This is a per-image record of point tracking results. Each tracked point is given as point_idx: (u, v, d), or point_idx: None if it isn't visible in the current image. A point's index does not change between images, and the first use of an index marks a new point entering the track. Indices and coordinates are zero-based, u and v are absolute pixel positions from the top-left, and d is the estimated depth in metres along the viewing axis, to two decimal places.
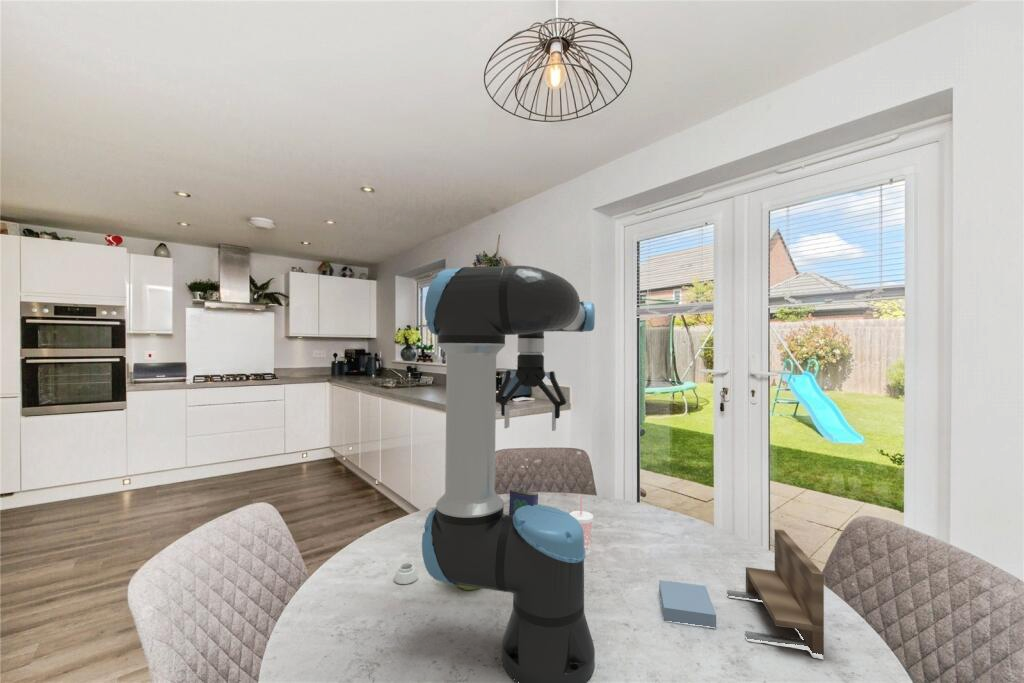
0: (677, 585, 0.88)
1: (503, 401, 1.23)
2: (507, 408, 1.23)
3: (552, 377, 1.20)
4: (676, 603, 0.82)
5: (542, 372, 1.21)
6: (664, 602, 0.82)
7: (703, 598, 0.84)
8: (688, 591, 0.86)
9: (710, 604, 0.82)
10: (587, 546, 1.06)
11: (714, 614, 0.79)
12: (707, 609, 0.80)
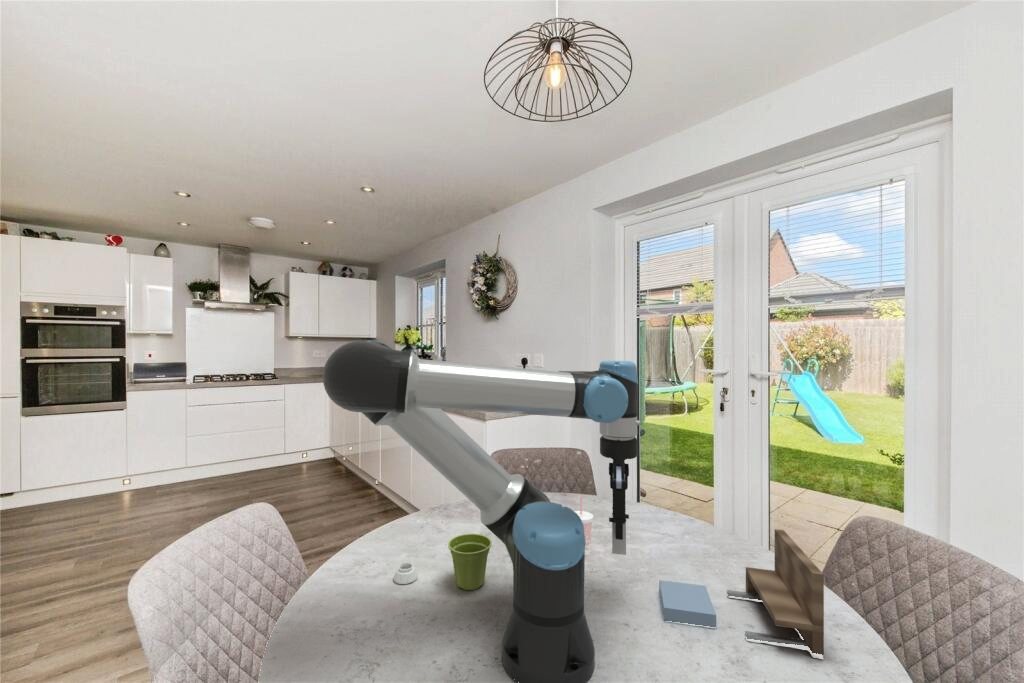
0: (677, 585, 0.88)
1: None
2: None
3: (612, 485, 0.83)
4: (676, 603, 0.82)
5: (613, 469, 0.84)
6: (664, 602, 0.82)
7: (703, 598, 0.84)
8: (688, 591, 0.86)
9: (710, 603, 0.82)
10: (587, 545, 1.06)
11: (714, 614, 0.79)
12: (707, 609, 0.80)
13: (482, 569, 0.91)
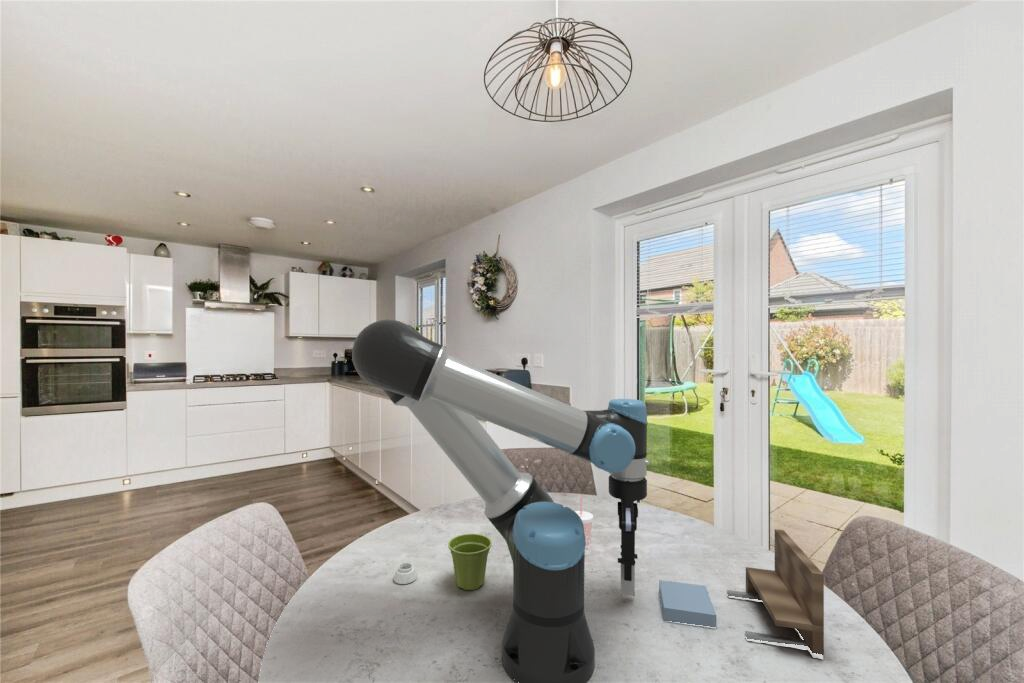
0: (677, 584, 0.88)
1: (621, 551, 0.89)
2: None
3: (621, 527, 0.83)
4: (676, 603, 0.82)
5: (622, 510, 0.84)
6: (664, 602, 0.82)
7: (703, 598, 0.84)
8: (688, 592, 0.86)
9: (710, 604, 0.82)
10: (587, 546, 1.06)
11: (714, 614, 0.79)
12: (707, 609, 0.80)
13: (482, 569, 0.91)
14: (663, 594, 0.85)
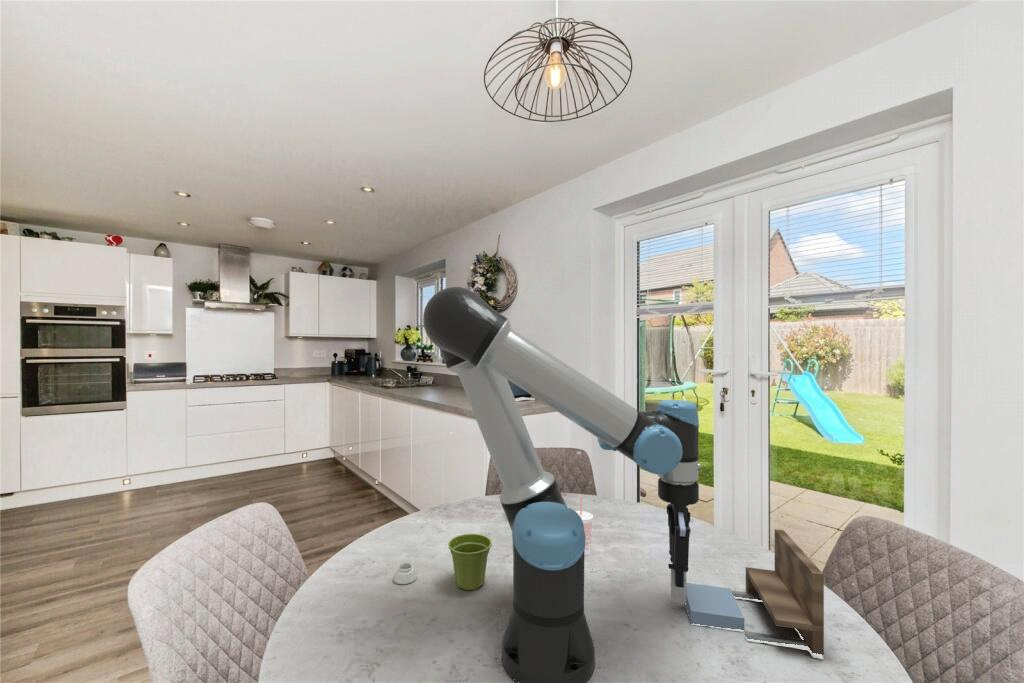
0: (701, 587, 0.87)
1: None
2: None
3: (675, 533, 0.80)
4: (702, 606, 0.81)
5: (675, 515, 0.82)
6: (690, 605, 0.81)
7: (729, 601, 0.83)
8: (713, 594, 0.85)
9: (737, 607, 0.81)
10: (587, 545, 1.06)
11: (742, 617, 0.78)
12: (735, 612, 0.79)
13: (482, 569, 0.91)
14: (688, 597, 0.84)
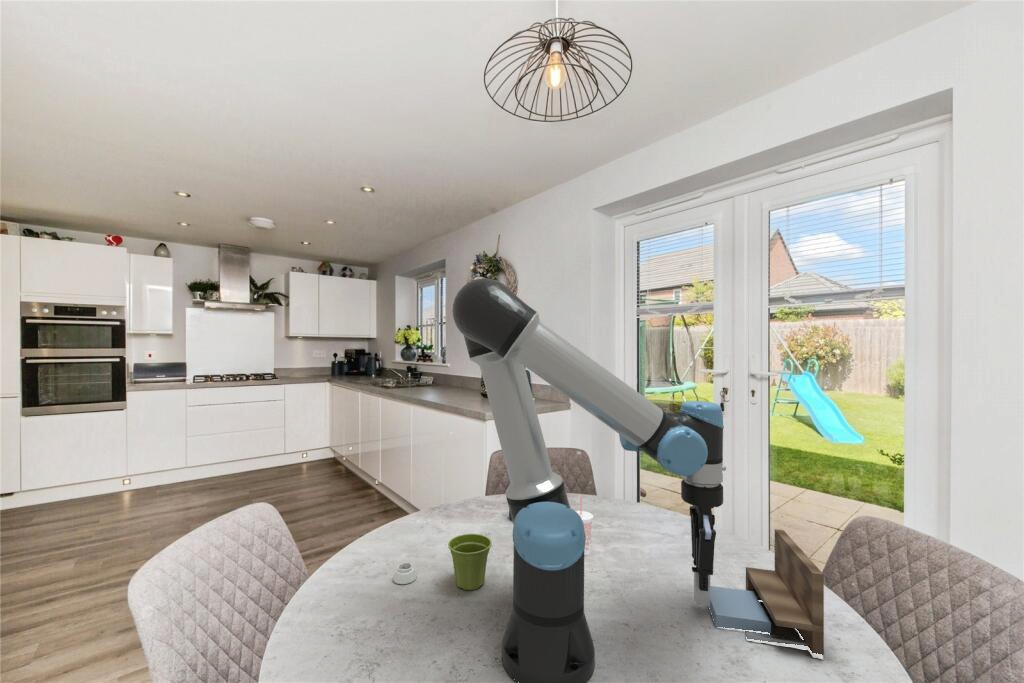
0: (724, 590, 0.87)
1: (694, 560, 0.85)
2: None
3: (700, 536, 0.79)
4: (727, 610, 0.80)
5: (700, 517, 0.80)
6: (715, 609, 0.80)
7: (753, 604, 0.82)
8: (737, 597, 0.84)
9: (762, 610, 0.80)
10: (587, 545, 1.06)
11: (769, 621, 0.77)
12: (760, 616, 0.78)
13: (482, 569, 0.91)
14: (712, 600, 0.83)
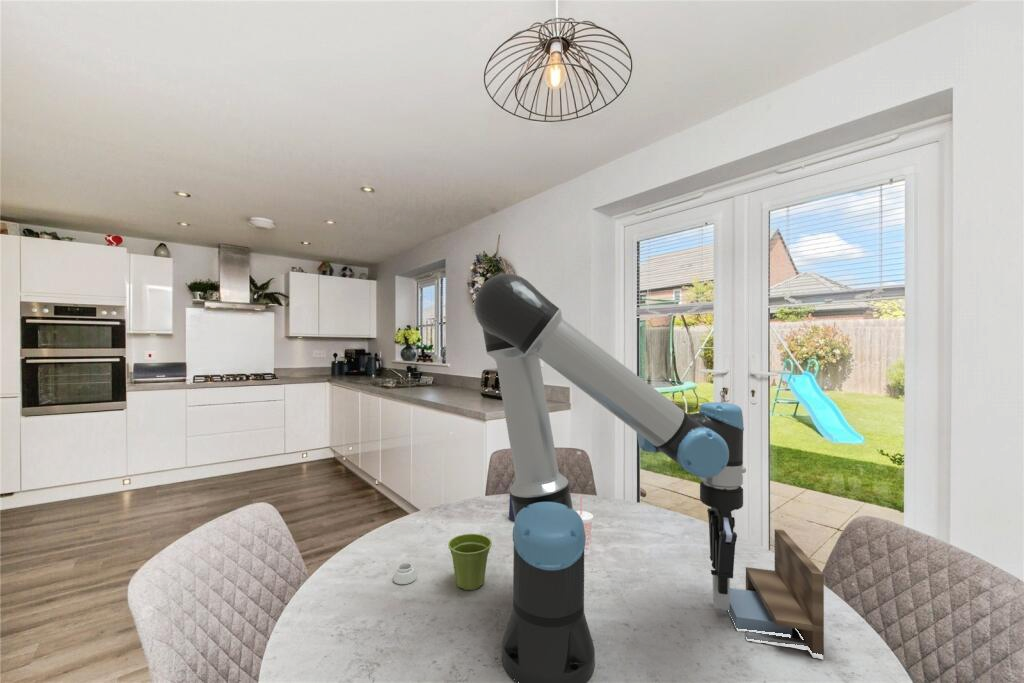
0: (742, 592, 0.86)
1: (712, 562, 0.85)
2: None
3: (720, 538, 0.78)
4: (747, 612, 0.79)
5: (720, 520, 0.80)
6: (735, 611, 0.80)
7: None
8: (756, 599, 0.83)
9: None
10: (587, 545, 1.06)
11: None
12: None
13: (482, 569, 0.91)
14: (731, 602, 0.82)
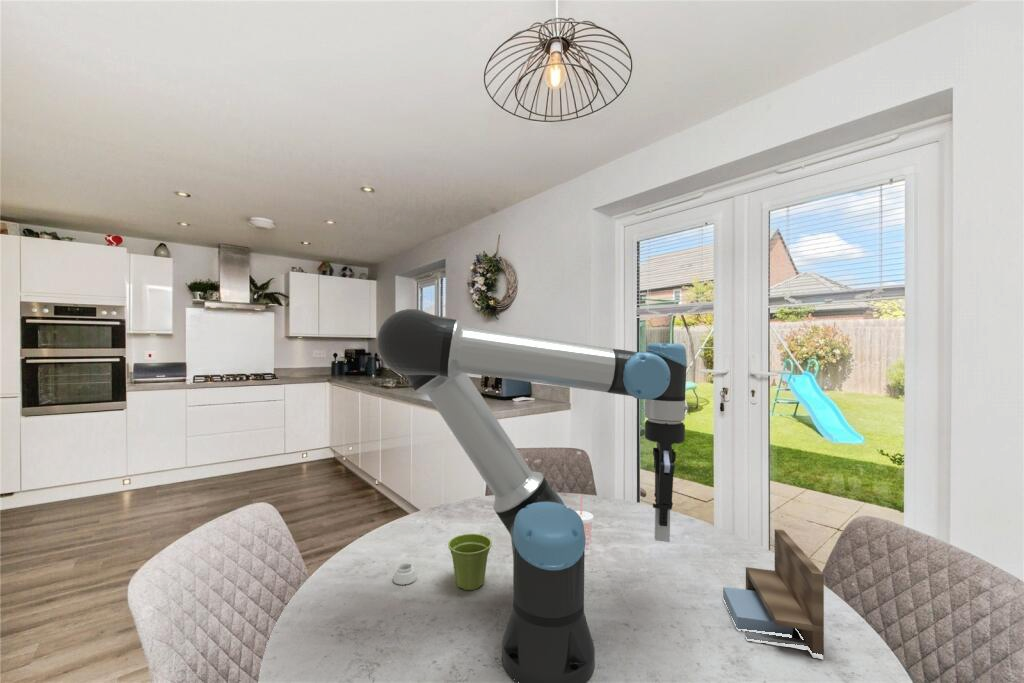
0: (743, 592, 0.86)
1: None
2: None
3: (659, 469, 0.81)
4: (748, 612, 0.79)
5: (660, 453, 0.82)
6: (736, 611, 0.80)
7: None
8: (756, 599, 0.83)
9: None
10: (587, 545, 1.06)
11: None
12: None
13: (482, 569, 0.91)
14: (732, 602, 0.82)
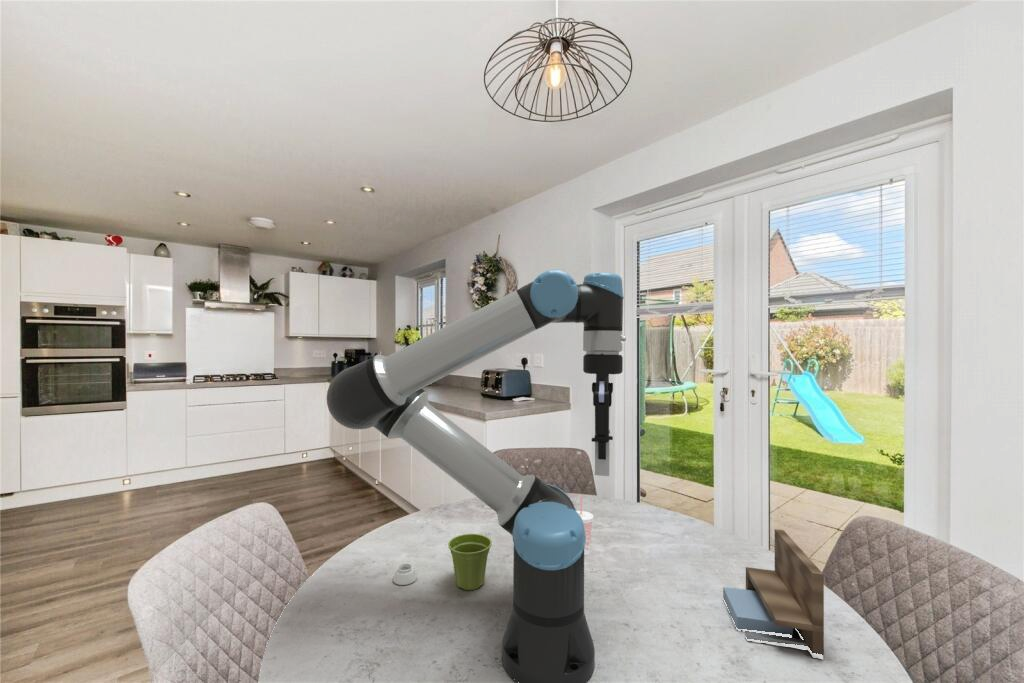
0: (743, 592, 0.86)
1: None
2: None
3: (594, 399, 0.79)
4: (748, 612, 0.79)
5: (596, 383, 0.81)
6: (735, 611, 0.80)
7: None
8: (756, 599, 0.83)
9: None
10: (587, 545, 1.06)
11: None
12: None
13: (482, 569, 0.91)
14: (732, 602, 0.82)
